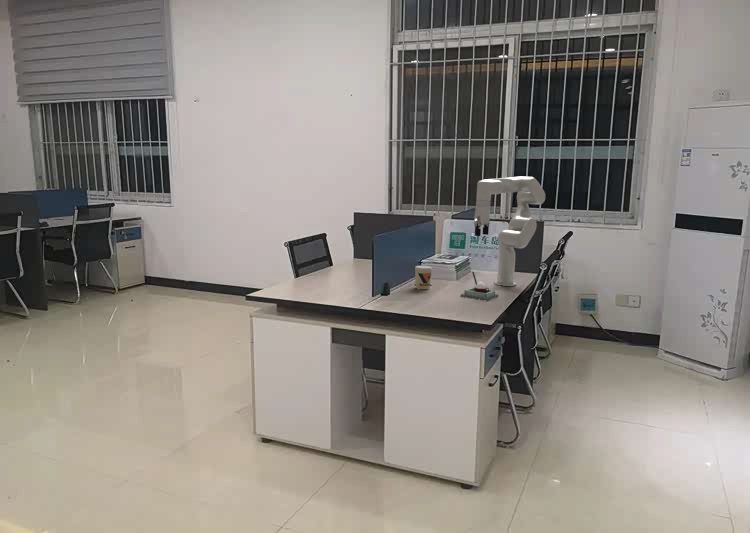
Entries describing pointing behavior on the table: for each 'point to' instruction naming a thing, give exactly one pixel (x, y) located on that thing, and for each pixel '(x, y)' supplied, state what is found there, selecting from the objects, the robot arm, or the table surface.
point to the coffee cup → (423, 277)
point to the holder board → (479, 294)
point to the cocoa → (480, 286)
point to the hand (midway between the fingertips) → (481, 235)
